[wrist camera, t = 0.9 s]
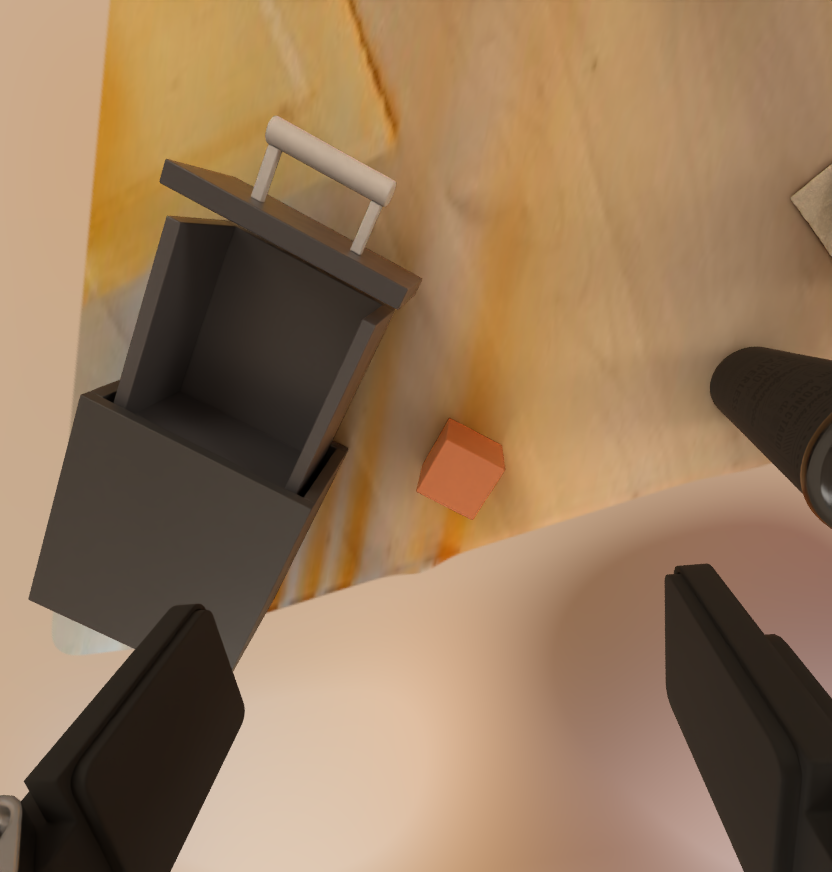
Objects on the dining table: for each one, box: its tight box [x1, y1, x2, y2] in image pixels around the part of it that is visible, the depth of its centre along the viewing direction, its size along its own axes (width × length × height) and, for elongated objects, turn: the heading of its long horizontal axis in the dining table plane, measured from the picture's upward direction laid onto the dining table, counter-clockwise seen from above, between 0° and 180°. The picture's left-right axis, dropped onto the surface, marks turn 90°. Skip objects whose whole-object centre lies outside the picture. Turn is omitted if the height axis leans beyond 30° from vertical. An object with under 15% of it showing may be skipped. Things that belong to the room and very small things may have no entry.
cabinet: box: [29, 380, 348, 671], centre depth 37 cm, size 17×15×10 cm
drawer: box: [114, 116, 422, 496], centre depth 31 cm, size 20×13×8 cm
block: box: [416, 418, 505, 520], centre depth 36 cm, size 4×4×4 cm
